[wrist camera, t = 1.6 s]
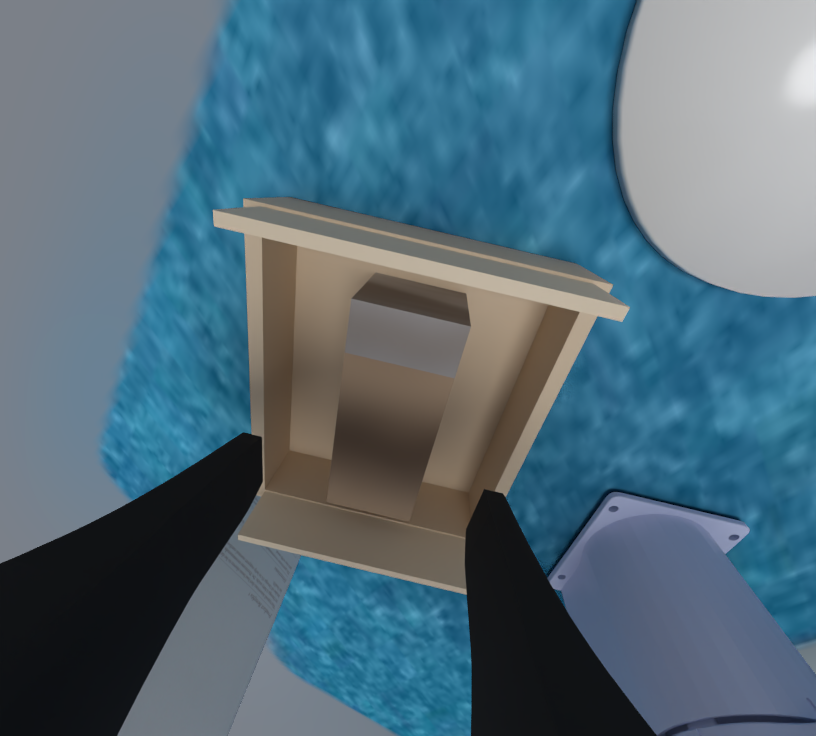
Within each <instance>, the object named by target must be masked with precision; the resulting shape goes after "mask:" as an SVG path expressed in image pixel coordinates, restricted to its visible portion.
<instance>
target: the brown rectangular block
mask: <svg viewBox="0 0 816 736" xmlns="http://www.w3.org/2000/svg"><path fill="white" fill-rule="evenodd" d="M470 328H471V323H470V316H469V309H468V302H467V295H466V293H462V292H458V291H453V290H449V289H445V288H440V287H436V286H432V285H428V284H423V283H419V282H415V281H411V280H406V279H402V278H398V277H393V276H389V275H385V274H381V273H375V274H374V275H373V276H372V277H371V278H370V279H369V280H368V281H367V282H366V283H365V284H364V286H363V287H362V288H361V289H360V290H359V291H358V292H357V293H356V294H355V295H354V296H353V297H352V298H351V305H350V313H349V321H348V329H347V337H346V346H345V354H344V362H343V370H342V378H341V387H340V395H339V403H338V411H337V419H336V427H335V436H334V444H333V452H332V460H331V468H330V477H329V485H328V493H327V501H326V502H329V503H333V504H337V505H341V506H345V507H350V508H354V509H358V510H362V511H366V512H371V513H375V514H379V515H383V516H387V517H391V518H396V519H400V520H404V521H408V522H409V521H410V518H411V515H412V512H413V509H414V505H415V502H416V499H417V496H418V493H419V490H420V486H421V483H422V480H423V477H424V474H425V471H426V467H427V464H428V461H429V458H430V455H431V452H432V448H433V445H434V442H435V439H436V436H437V433H438V430H439V426H440V423H441V420H442V417H443V414H444V411H445V407H446V404H447V401H448V398H449V395H450V392H451V388H452V385H453V382H454V379H455V376H456V373H457V369H458V366H459V363H460V360H461V357H462V354H463V351H464V347H465V344H466V341H467V338H468V335H469V332H470Z"/></svg>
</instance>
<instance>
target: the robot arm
mask: <svg viewBox="0 0 816 736" xmlns="http://www.w3.org/2000/svg"><path fill="white" fill-rule="evenodd" d="M262 483H263V460H262V437H260V436H256V435H252V434H248V433H242V434H240V435H239V436H237V437H235V438H234V439H232V440H231V441H229V442H228V443H226V444H225V445H223V446H222V447H220V448H219V449H217V450H215V451H214V452H212V453H211V454H209V455H208V456H206V457H205V458H203V459H202V460H200V461H199V462H197V463H195V464H194V465H192V466H191V467H189V468H187V469H186V470H184V471H183V472H181V473H179V474H178V475H176V476H175V477H173V478H171V479H170V480H168V481H166V482H165V483H163V484H161V485H159V486H158V487H156V488H154V489H153V490H151V491H149V492H147V493H146V494H144V495H142V496H140V497H139V498H137V499H135V500H133V501H132V502H130V503H128V504H126V505H124V506H122V507H121V508H119V509H117V510H115V511H113V512H111V513H109V514H107V515H105V516H103V517H101V518H99V519H98V520H95V521H94V522H91V523H90V524H87V525H85V526H83V527H81V528H79V529H77V530H75V531H73V532H71V533H69V534H66V535H64V536H62V537H60V538H58V539H55V540H53V541H51V542H49V543H46V544H44V545H42V546H40V547H37V548H35V549H33V550H31V551H29V552H27V553H24V554H22V555H20V556H17V557H15V558H12V559H10V560H8V561H5V562H3V563H1V564H0V736H117V735H118V733H119V731H120V729H121V727H122V725H123V723H124V721H125V719H126V717H127V716H128V714H129V712H130V710H131V708H132V706H133V704H134V702H135V700H136V698H137V696H138V694H139V692H140V690H141V688H142V686H143V684H144V682H145V680H146V679H147V677H148V675H149V673H150V671H151V669H152V667H153V666H154V664H155V662H156V660H157V658H158V656H159V654H160V652H161V651H162V649H163V647H164V645H165V643H166V641H167V639H168V638H169V636H170V634H171V632H172V630H173V629H174V627H175V625H176V623H177V621H178V620H179V618H180V616H181V614H182V612H183V611H184V609H185V607H186V605H187V604H188V602H189V600H190V598H191V597H192V595H193V594H194V592H195V590H196V589H197V587H198V586H199V584H200V582H201V581H202V579H203V578H204V576H205V575H206V573H207V572H208V570H209V569H210V567H211V566H212V564H213V563H214V562H215V560H216V559H217V557H218V556H219V554H220V553H221V551H222V550H223V548H224V547H225V545H226V544H227V542H228V541H229V539H230V538H231V536H232V535H233V533H234V532H235V530H236V529H237V527H238V526H239V524H240V523H241V521H242V519H243V518H244V516H245V515H246V513H247V512H248V510H249V508H250V506H251V504H252V502H253V500H254V498H255V496H256V494H257V493H258V491H259V489H260V487H261V485H262ZM749 531H750V529H749V527H748V526H747V525H746V524H745V523H744V522H742V521H739V520H734V519H730V518H726V517H722V516H718V515H713V514H709V513H705V512H701V511H696V510H692V509H688V508H684V507H680V506H675V505H671V504H667V503H663V502H658V501H654V500H650V499H646V498H642V497H637V496H633V495H629V494H625V493H621V492H612V493H610V494H608V495H607V496H606V498H605V499H604V501H603V502H602V503H601V505H600V506H599V508H598V509H597V510H596V512H595V513H594V514H593V516H592V517H591V519H590V520H589V521H588V523H587V524H586V525H585V527H584V528H583V530H582V531H581V532H580V534H579V535H578V537H577V538H576V539H575V541H574V542H573V543H572V545H571V546H570V548H569V549H568V550H567V552H566V553H565V555H564V556H563V557H562V559H561V560H560V561H559V563H558V564H557V566H556V567H555V568H554V570H553V571H552V573H551V574H550V575H549V577H548V578H547V577H546V575H545V573H544V572H543V570H542V568H541V566H540V564H539V562H538V561H537V559H536V557H535V555H534V553H533V551H532V550H531V548H530V546H529V544H528V542H527V540H526V538H525V536H524V534H523V532H522V530H521V528H520V526H519V524H518V522H517V520H516V518H515V516H514V514H513V512H512V510H511V508H510V506H509V504H508V502H507V500H506V498H505V496H504V494H503V493H499V492H495V491H491V490H486V489H484V490H483V493H482V495H481V497H480V499H479V501H478V504H477V506H476V508H475V510H474V512H473V515H472V517H471V519H470V521H469V524H468V526H467V528H466V536H465V576H466V590H467V603H468V616H469V629H470V642H471V662H472V714H471V736H816V674H815V673H814V672H813V670H812V669H811V668H810V666H809V665H808V664H807V663H806V661H805V660H804V658H803V657H802V656H801V654H800V653H799V652H798V650H797V649H796V648H795V646H794V645H793V644H792V642H791V641H790V640H789V638H788V637H787V636H786V634H785V633H784V632H783V630H782V629H781V628H780V626H779V625H778V624H777V622H776V621H775V620H774V618H773V617H772V616H771V614H770V613H769V612H768V611H767V609H766V608H765V607H764V605H763V604H762V603H761V601H760V600H759V599H758V597H757V596H756V595H755V593H754V592H753V591H752V589H751V588H750V587H749V585H748V584H747V583H746V581H745V580H744V579H743V577H742V576H741V575H740V573H739V572H738V571H737V569H736V568H735V567H734V565H733V564H732V563H731V561H730V560H729V559H728V557H727V556H726V555H725V554H726V553H727V552H728V551H729V550H730V549H732V548H733V547H734V546H735V545H736V544H737V543H738V542H739V541H741V540H742V539H743V538H744V537H745V536H746V535H747V534H748V533H749ZM554 589H556V590H561V591H562V595H563V599H564V602H565V606H566V609H565V607H564V606H563V604H562V602H561V601H560V599H559V597H558V596H557V594H556V592H555V591H554Z"/></svg>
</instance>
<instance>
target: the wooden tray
mask: <svg viewBox="0 0 816 736" xmlns="http://www.w3.org/2000/svg"><path fill="white" fill-rule="evenodd" d="M243 201H244V208H231V209H218V210H213V219H214V226H215V227H219V228H223V229H228V230H232V231H236V232H241V233H245V258H246V287H247V315H248V344H249V372H250V401H251V429H252V435H256V436H260V437H262V460H263V483H262V485H261V487H260V489H259V491H258V493H257V494H256V495H257V496H261V498H260V499H259V501H258V503H257V504H256V506H255V507H254V509H253V511H252V512H251V514H250V515H249V517H248V519H247V520H246V522H245V523H244V525H243V527H242V528H241V530H240V531H239V533H238V540H241V541H245V542H249V543H253V544H257V545H262V546H266V547H270V548H274V549H278V550H282V551H287V552H291V553H295V554H299V555H303V556H307V557H312V558H316V559H320V560H324V561H328V562H332V563H337V564H341V565H345V566H349V567H353V568H357V569H362V570H366V571H370V572H374V573H378V574H382V575H387V576H391V577H395V578H399V579H403V580H408V581H412V582H416V583H420V584H424V585H428V586H433V587H437V588H441V589H445V590H449V591H453V592H458V593H462V594H466V595H467V590H466V576H465V536H466V528H467V526H468V524H469V521H470V519H471V517H472V515H473V512H474V510H475V508H476V506H477V504H478V501H479V499H480V497H481V495H482V493H483V490H484V489H486V490H491V491H495V492H499V493H503V494H504V496H505V497H506V495H507V493H508V491H509V490H510V488H511V486H512V484H513V482H514V480H515V478H516V476H517V474H518V472H519V470H520V468H521V466H522V464H523V462H524V460H525V458H526V456H527V454H528V452H529V450H530V448H531V446H532V444H533V442H534V440H535V438H536V436H537V434H538V432H539V430H540V428H541V426H542V424H543V422H544V420H545V419H546V417H547V415H548V413H549V411H550V409H551V407H552V405H553V403H554V401H555V399H556V397H557V395H558V393H559V391H560V389H561V387H562V385H563V383H564V381H565V379H566V377H567V375H568V373H569V371H570V369H571V367H572V365H573V363H574V361H575V359H576V357H577V355H578V353H579V351H580V349H581V347H582V346H583V344H584V342H585V340H586V338H587V336H588V334H589V332H590V330H591V328H592V326H593V324H594V322H595V320H596V318H597V316H600V317H604V318H608V319H613V320H617V321H621V322H622V321H623V319H624V317H625V316H626V314H627V312H628V310H629V308H630V307H629V306H627V305H626V304H624V303H623V302H621V301H620V300H618V299H616V298H615V297H613V296H612V295H610V294H609V292H610V290H611V288H612V286H613V284H611V283H609V282H608V281H606V280H604V279H602V278H601V277H599V276H597V275H595V274H594V273H592V272H590V271H588V270H587V269H585V268H583V267H582V266H580V265H578V264H575V263H571V262H567V261H562V260H558V259H554V258H549V257H545V256H541V255H537V254H532V253H528V252H524V251H519V250H515V249H511V248H506V247H502V246H498V245H494V244H489V243H485V242H481V241H476V240H472V239H468V238H464V237H459V236H455V235H451V234H446V233H442V232H438V231H433V230H429V229H425V228H421V227H416V226H412V225H408V224H403V223H399V222H395V221H391V220H386V219H382V218H378V217H373V216H369V215H365V214H361V213H356V212H352V211H348V210H343V209H339V208H335V207H330V206H326V205H322V204H318V203H313V202H309V201H305V200H300V199H296V198H292V197H275V198H245V199H243ZM375 273H381V274H385V275H389V276H393V277H398V278H402V279H406V280H411V281H415V282H419V283H423V284H428V285H432V286H436V287H440V288H445V289H449V290H453V291H458V292H462V293H466V295H467V302H468V309H469V316H470V323H471V328H470V332H469V335H468V338H467V341H466V344H465V347H464V351H463V354H462V357H461V360H460V363H459V366H458V369H457V373H456V376H455V379H454V382H453V385H452V388H451V392H450V395H449V398H448V401H447V404H446V407H445V411H444V414H443V417H442V420H441V423H440V426H439V430H438V433H437V436H436V439H435V442H434V445H433V448H432V452H431V455H430V458H429V461H428V464H427V467H426V471H425V474H424V477H423V480H422V483H421V486H420V490H419V493H418V496H417V499H416V502H415V505H414V509H413V512H412V515H411V518H410V521H409V522H408V521H404V520H400V519H396V518H391V517H387V516H383V515H379V514H375V513H371V512H366V511H362V510H358V509H354V508H350V507H345V506H341V505H337V504H333V503H329V502H326V501H327V493H328V485H329V477H330V468H331V460H332V452H333V444H334V436H335V427H336V419H337V411H338V403H339V395H340V387H341V378H342V370H343V362H344V354H345V346H346V337H347V329H348V321H349V313H350V305H351V298H352V297H353V296H354V295H355V294H356V293H357V292H358V291H359V290H360V289H361V288H362V287H363V286H364V284H365V283H366V282H367V281H368V280H369V279H370V278H371V277H372V276H373V275H374V274H375Z"/></svg>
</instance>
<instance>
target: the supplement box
mask: <svg viewBox="0 0 816 736" xmlns="http://www.w3.org/2000/svg"><path fill="white" fill-rule="evenodd" d="M260 498H261V496H257V495H256V496H255V498H254V500H253V502H252V504H251V506H250V508H249V510H248V512H247V513H246V515H245V516H244V518H243V519H242V521H241V523H240V524H239V526H238V527H237V529H236V530H235V532H234V533H233V535H232V536H231V538H230V539H229V541H228V542H227V544H226V545H225V547H224V548H223V550H222V551H221V553H220V554H219V556H218V557H217V559H216V560H215V562H214V563H213V564H212V566H211V567H210V569H209V570H208V572H207V573H206V575H205V576H204V578H203V579H202V581H201V582H200V584H199V586H198V587H197V589H196V590H195V592H194V594H193V595H192V597H191V598H190V600H189V602H188V604H187V605H186V607H185V609H184V611H183V612H182V614H181V616H180V618H179V620H178V621H177V623H176V625H175V627H174V629H173V630H172V632H171V634H170V636H169V638H168V639H167V641H166V643H165V645H164V647H163V649H162V651H161V652H160V654H159V656H158V658H157V660H156V662H155V664H154V666H153V667H152V669H151V671H150V673H149V675H148V677H147V679H146V680H145V682H144V684H143V686H142V688H141V690H140V692H139V694H138V696H137V698H136V700H135V702H134V704H133V706H132V708H131V710H130V712H129V714H128V716H127V717H126V719H125V721H124V723H123V725H122V727H121V729H120V731H119V733H118V735H117V736H228V734H229V731H230V729H231V726H232V724H233V721H234V719H235V716H236V714H237V711H238V709H239V707H240V704H241V702H242V699H243V697H244V694H245V692H246V689H247V687H248V684H249V682H250V680H251V677H252V674H253V672H254V670H255V667H256V665H257V662H258V660H259V657H260V655H261V652H262V650H263V648H264V645H265V643H266V640H267V638H268V635H269V633H270V630H271V628H272V626H273V623H274V621H275V618H276V616H277V613H278V611H279V608H280V606H281V603H282V601H283V598H284V596H285V593H286V591H287V588H288V586H289V584H290V581H291V579H292V576H293V574H294V571H295V569H296V566H297V564H298V561H299V559H300V556H301V555H299V554H295V553H291V552H287V551H282V550H278V549H274V548H270V547H266V546H262V545H257V544H253V543H249V542H245V541H241V540H238V533H239V531H240V530H241V528H242V527H243V525H244V523H245V522H246V520H247V519H248V517H249V515H250V514H251V512H252V511H253V509H254V507H255V506H256V504H257V503H258V501H259V499H260Z"/></svg>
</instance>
